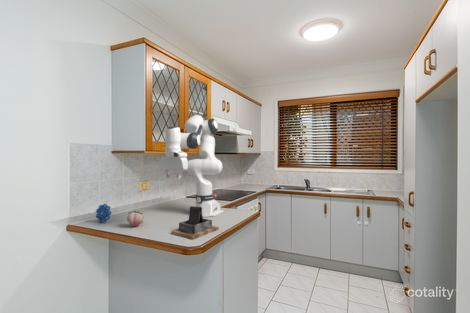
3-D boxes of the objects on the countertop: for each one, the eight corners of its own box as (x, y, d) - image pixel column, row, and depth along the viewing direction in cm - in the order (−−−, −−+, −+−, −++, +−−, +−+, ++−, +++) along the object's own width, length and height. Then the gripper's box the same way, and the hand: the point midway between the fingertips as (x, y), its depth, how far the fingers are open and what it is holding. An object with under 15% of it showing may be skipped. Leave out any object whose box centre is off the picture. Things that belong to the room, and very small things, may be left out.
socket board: (197, 224, 145) (197, 215, 145) (218, 229, 136) (218, 219, 136) (171, 233, 129) (171, 223, 129) (193, 239, 120) (193, 228, 120)
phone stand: (194, 226, 138) (194, 204, 138) (204, 226, 136) (204, 205, 136) (186, 230, 129) (186, 208, 129) (197, 231, 128) (196, 208, 128)
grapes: (116, 221, 153) (116, 202, 153) (108, 224, 147) (107, 204, 147) (101, 220, 157) (101, 201, 157) (92, 223, 150) (92, 203, 150)
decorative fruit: (146, 224, 147) (146, 207, 147) (141, 228, 139) (141, 210, 139) (130, 224, 147) (130, 207, 147) (124, 228, 139) (124, 211, 139)
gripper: (157, 154, 145) (157, 177, 145) (181, 154, 133) (181, 179, 133) (165, 154, 150) (165, 176, 150) (189, 154, 138) (189, 178, 139)
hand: (173, 177), depth 142 cm, fingers open, 8 cm apart
